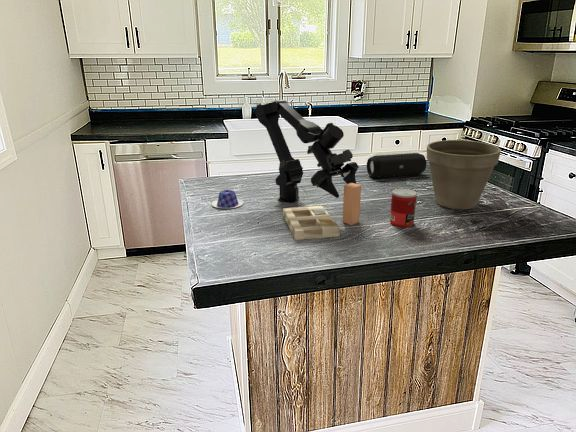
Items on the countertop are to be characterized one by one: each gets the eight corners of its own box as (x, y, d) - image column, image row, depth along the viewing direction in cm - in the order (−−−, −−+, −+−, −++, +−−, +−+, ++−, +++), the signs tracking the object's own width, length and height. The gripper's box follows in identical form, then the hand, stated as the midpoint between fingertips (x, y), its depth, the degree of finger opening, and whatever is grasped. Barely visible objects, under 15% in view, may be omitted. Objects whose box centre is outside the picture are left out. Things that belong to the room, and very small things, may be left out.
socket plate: (283, 216, 156) (283, 207, 155) (321, 213, 158) (322, 204, 157) (295, 240, 137) (295, 230, 136) (339, 236, 140) (339, 226, 138)
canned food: (409, 229, 145) (412, 197, 141) (386, 224, 149) (388, 193, 145) (416, 221, 151) (420, 190, 147) (394, 217, 155) (396, 187, 151)
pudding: (219, 198, 176) (218, 185, 174) (248, 201, 172) (247, 188, 171) (206, 208, 165) (205, 195, 163) (236, 211, 162) (235, 198, 160)
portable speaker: (373, 180, 197) (375, 158, 193) (365, 174, 206) (366, 153, 202) (426, 176, 202) (428, 155, 199) (415, 171, 211) (417, 150, 208)
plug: (342, 221, 151) (344, 185, 146) (350, 218, 154) (352, 182, 149) (351, 225, 148) (353, 187, 144) (359, 222, 151) (361, 185, 146)
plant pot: (453, 219, 153) (461, 157, 145) (407, 198, 174) (413, 143, 166) (506, 208, 162) (517, 150, 154) (457, 190, 183) (464, 137, 175)
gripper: (317, 146, 141) (342, 187, 137) (355, 138, 152) (379, 176, 149) (300, 166, 149) (323, 205, 145) (338, 157, 161) (360, 193, 157)
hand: (347, 194), depth 149 cm, fingers open, 9 cm apart
